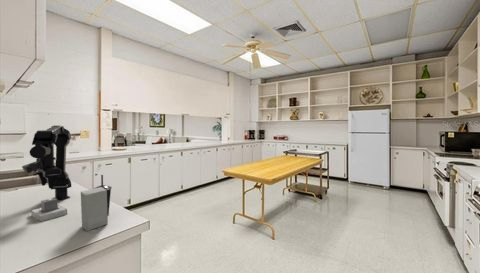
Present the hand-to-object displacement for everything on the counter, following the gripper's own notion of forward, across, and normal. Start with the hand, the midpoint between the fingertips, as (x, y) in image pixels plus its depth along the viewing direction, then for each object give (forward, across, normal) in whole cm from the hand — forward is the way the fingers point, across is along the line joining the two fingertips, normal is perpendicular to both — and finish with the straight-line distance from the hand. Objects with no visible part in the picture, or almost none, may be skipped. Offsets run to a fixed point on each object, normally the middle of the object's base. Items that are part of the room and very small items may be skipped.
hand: (47, 186), depth 108 cm
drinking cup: (+13, +29, +12) cm, 34 cm away
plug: (+12, +6, -1) cm, 14 cm away
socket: (+12, +6, -1) cm, 14 cm away
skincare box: (+13, +37, +5) cm, 39 cm away
